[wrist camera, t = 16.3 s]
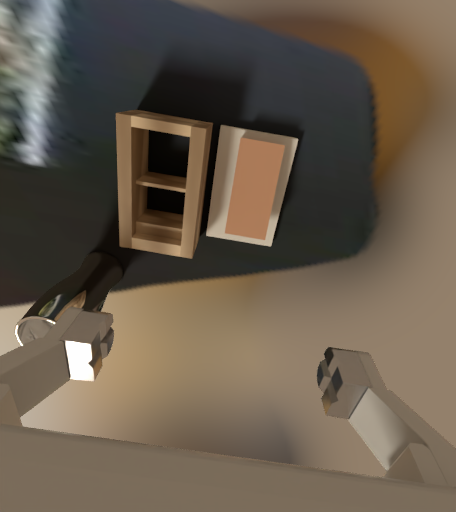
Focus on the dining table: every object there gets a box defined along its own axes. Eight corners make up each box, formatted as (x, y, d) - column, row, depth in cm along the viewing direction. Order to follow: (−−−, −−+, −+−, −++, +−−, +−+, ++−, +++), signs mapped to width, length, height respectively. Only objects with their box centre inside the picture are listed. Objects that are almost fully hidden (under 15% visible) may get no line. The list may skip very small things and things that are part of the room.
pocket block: (136, 226, 42) (119, 246, 37) (136, 109, 34) (115, 113, 29) (199, 237, 42) (192, 258, 37) (212, 123, 35) (206, 128, 29)
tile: (225, 228, 39) (224, 233, 36) (240, 139, 35) (240, 137, 33) (263, 235, 39) (265, 240, 36) (281, 146, 35) (285, 145, 33)
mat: (207, 232, 41) (206, 235, 41) (221, 124, 35) (220, 125, 34) (270, 243, 42) (270, 246, 41) (297, 138, 35) (298, 139, 34)
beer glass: (78, 278, 47) (12, 351, 34) (83, 242, 44) (12, 307, 30) (122, 292, 48) (73, 369, 35) (130, 257, 44) (79, 327, 31)
